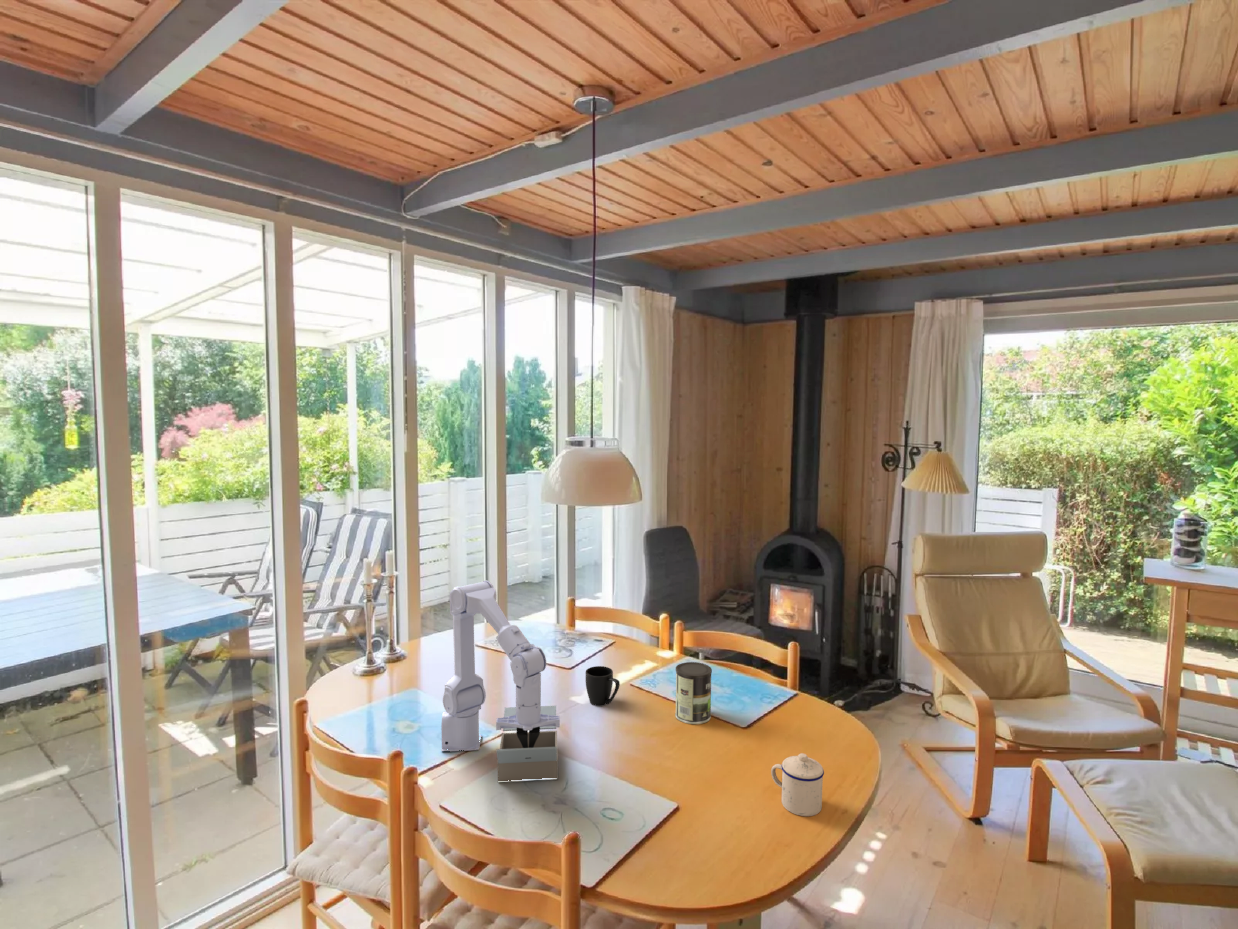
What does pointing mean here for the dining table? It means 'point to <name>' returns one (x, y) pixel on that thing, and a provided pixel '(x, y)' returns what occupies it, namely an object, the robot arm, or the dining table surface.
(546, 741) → the carton
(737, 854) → the dining table surface
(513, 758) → the near flap
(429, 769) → the dining table surface
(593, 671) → the mug
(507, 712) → the far flap
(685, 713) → the coffee can
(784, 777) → the teacup with lid
